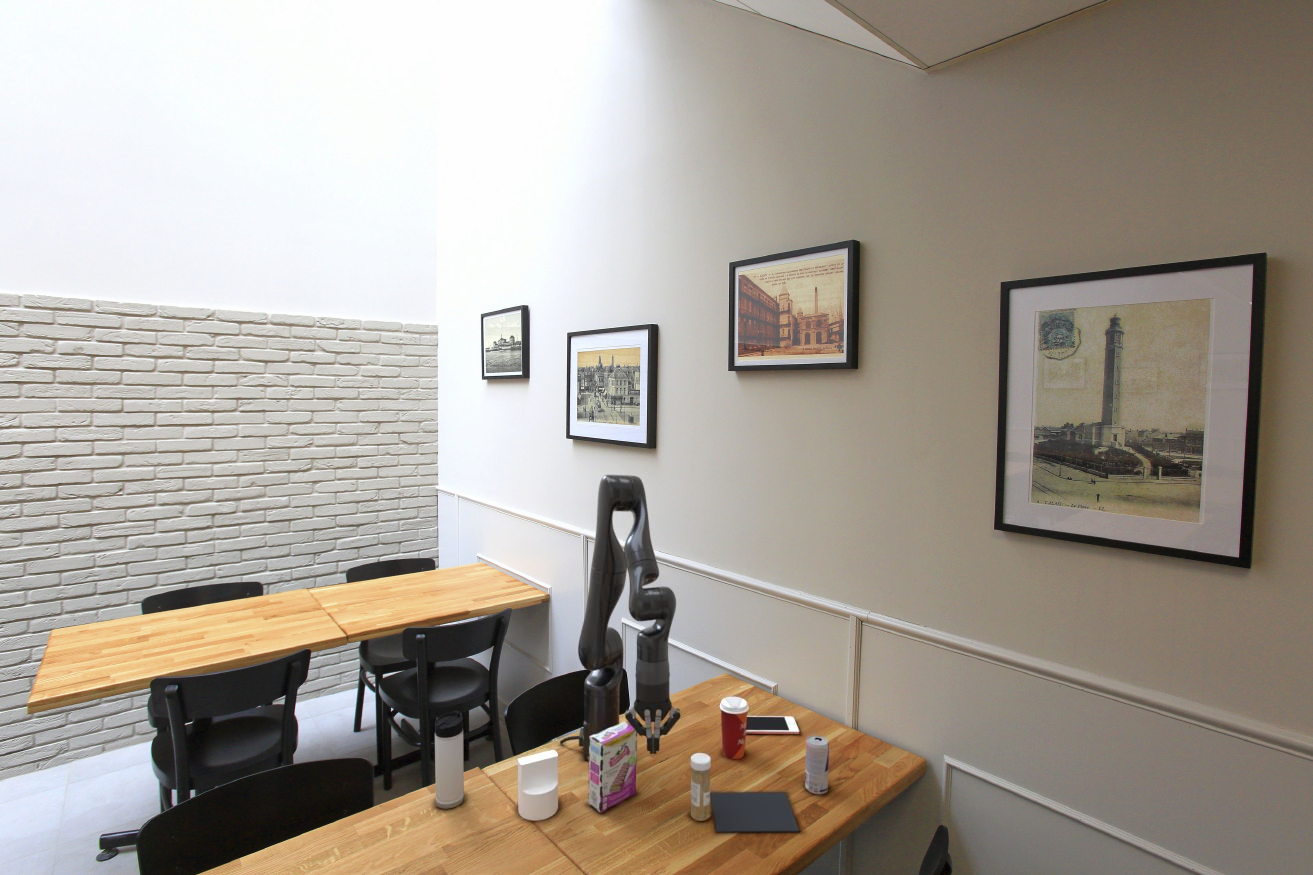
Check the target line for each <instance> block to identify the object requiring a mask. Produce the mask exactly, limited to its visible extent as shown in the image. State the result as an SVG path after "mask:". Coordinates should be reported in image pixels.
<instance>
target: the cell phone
mask: <svg viewBox="0 0 1313 875" xmlns="http://www.w3.org/2000/svg"><path fill="white" fill-rule="evenodd" d="M748 734H752V735H755V734H756V735H757V734H761V735H766V734H767V735H799V734H800V729H799V727H798V724H797V722H796V720H795V717H794V716H784V715H747V723H746V735H748Z"/></svg>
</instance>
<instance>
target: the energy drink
mask: <svg viewBox="0 0 1313 875" xmlns="http://www.w3.org/2000/svg"><path fill="white" fill-rule="evenodd" d="M829 757H830V744H829V740H828V739H827V738H826V737H825V736H822V735H818V734H812V735H809V736H807V738H806V741H805V772H804V774H805V778H804V780H805V782H804V786H805V789H806V790H807V791H808V792H809V793H811V794H813V795H824V794H826V793H827V792H828V791H829V765H830V764H829V763H830V762H829V761H830V758H829Z"/></svg>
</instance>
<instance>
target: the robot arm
mask: <svg viewBox="0 0 1313 875" xmlns="http://www.w3.org/2000/svg"><path fill="white" fill-rule="evenodd" d="M645 489H646V488H645V486H644V483H643V481H642V478H640V477H639V476H637V475H631V474H605V475H603V476H602V477H601V479H600V481H599V484H598V491H597V506H596V525H595V526H596V527H595V537H594V546H593V553H592V558H591V564H590V573H589V575H590V576H589V585H588V592H587V598H586V599H587V600H586V607H585V613H584V617H583V622H582V626H581V630H580V635H579V640H578V646H577V649H578V650H577V654H578V659H579V662H580V664H581V666H582V667H583V668H584V669H586V670H587V671H590V673H589V674H588V675H587V676H586V678H585V679H584V682H583V687H584V688H583V691H584V692H583V703H584V704H583V706H584V707H583V710H584V711H583V712H584V713H583V716H584V718H583V719H584V720H583V723H582V724H583V725H582V726H583V727H580V730H579V735H571V736H567V737H564V738H563V739H561V740H559V744H560V745H563V744H564V743H565V742H569V741H574V740H578V747H579V748H580V747H581V748H582V749H583V750H582V751H583V752H582V753H583V754H582V755H583V761H584V760H585V761H589V736H592V735H594V734H596V733H599V732H601V731H603V730H606V729H608V728H610V727H613V726H615V725H617V724H620V685H621V682H622V679H623V673H624V672H623V670H624V642H623V638H622V636H621V635H620V632H618V630H617V629H615V628H614V627H611V626H609V623H610V619H611V617H612V614H613V613H614V611H615V609H616V606H617V605H618V604H619V603H618V602H619V601H620V599H621V596H622V594H623V592H624V590H625V586H626V580H627V573H628V578H629V579H628V580H629V595H628V612H629V615H630V616H631V618H632V619H634V620H635V621H637V622H649V621H650V622H651V621H654V623H653V624H651V625H650V626H647V627H645V628H643V629H640V630H639V632H637V635H636V662H635V676H634V677H635V700H634V702H633V706H632V707H630V708H629V709H628V708H627V709H626V710H625V712H624V718H625V720H626V721H627V723H628V724H630V725H631V726H632V727H633V728H634V729H635V730H636V732H637V735H639V736H640V737H643V736H644V737H645V739H646V751H647V752H649V755H657V752H659V751H660V738H661V737H662V736H667V735H668V734H669V732H670V731H671V730H672V728H673V727H674V726H675V725H676V724H677V723H678V721H679V720H680V718H681V716H682V714H681V709H680V708H679V707H678V708H676V707H674V706H673V705H672V701H671V699H670V677H671V676H670V675H671V674H670V673H671V671H670V662H669V636H670V634H671V629H672V624H673V620H674V617H675V614H676V609H677V597H676V595H675V593H674V591H673V589H672V588H670V587H669V586H663V585H662V586H655V587H653V586H652V587H645V586H648V585H650V584H653V583H654V582H656V581H657V580H658V579H659V577H660V568H659V564H658V561H657V558H656V554H655V551H654V547H653V542H652V537H651V529H650V518H649V511H648V504H647V496H646V490H645ZM614 512H621V513H622V512H623V513H625V512H627V513H628V512H629V513H631V514H632V518H633V523H632V525H631V528H630V531H629V533H628V535H627V538H626V540H625V543H624V548H623V547H622V545H621V543H620V541H619V539H618V536H617V535H616V534H617V533H616V532H615V528H614V522H613V517H614ZM668 714H669V716H668ZM637 715H638V716H639V718H640V719H641V720H642V721H643V722H644V724H645V725H643V724H642V722H641V721H640V720H639V719H638V718H637ZM667 716H668V718H667V719H666V720H665V718H666V717H667ZM664 720H665V722H663V721H664ZM662 722H663V724H662V725H661V723H662ZM652 723H653V728H652ZM652 729H653V730H652Z"/></svg>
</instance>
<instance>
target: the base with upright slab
mask: <svg viewBox="0 0 1313 875" xmlns="http://www.w3.org/2000/svg"><path fill="white" fill-rule="evenodd" d="M517 786H518V787H517V789H518V790H517V803H518V804H517V805H518V806H517V810H518V811H517V812H518V814H519V815H520V817H521V818H523V819H525V820H527V821H536V822H537V821H544V820H547V819H549V818H551V817H552V816H554V815H555V814H556V813H557V811H558V809H559V754H558V752H557V751H556V750H555V749H551V750H546V751H542V752H538V753H535V754H531V755H527V756H523V757H519V758H517Z"/></svg>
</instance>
